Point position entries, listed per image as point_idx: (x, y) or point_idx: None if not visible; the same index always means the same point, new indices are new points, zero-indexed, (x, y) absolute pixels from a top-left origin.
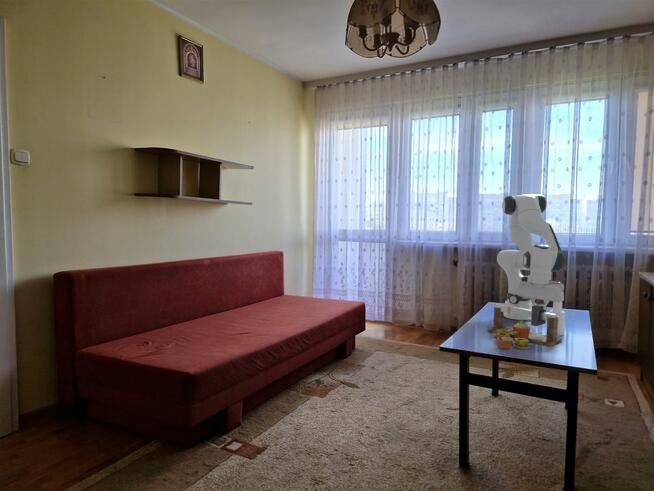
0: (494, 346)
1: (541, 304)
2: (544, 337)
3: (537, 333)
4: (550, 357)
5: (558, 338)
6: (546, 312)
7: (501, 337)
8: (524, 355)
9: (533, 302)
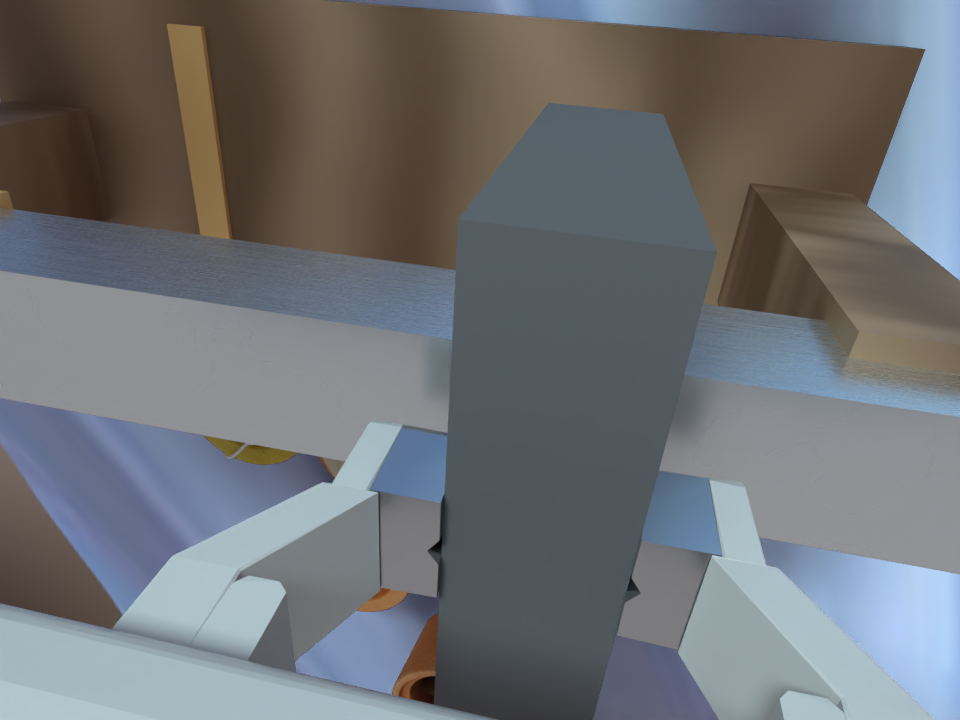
0: (404, 644)
1: (535, 374)
2: None
3: (519, 19)
4: None
5: (868, 75)
6: (747, 405)
7: (410, 680)
8: (648, 713)
9: (330, 614)
